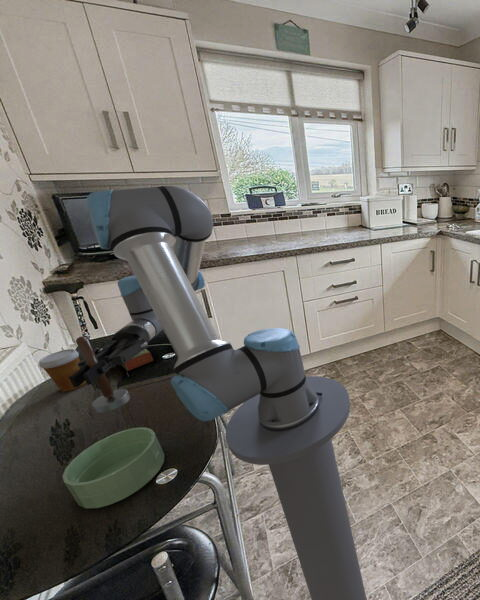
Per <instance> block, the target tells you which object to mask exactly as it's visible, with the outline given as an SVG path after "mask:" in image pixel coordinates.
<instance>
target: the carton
mask: <svg viewBox="0 0 480 600" xmlns="http://www.w3.org/2000/svg"><path fill="white" fill-rule="evenodd" d="M153 361H154V358H153V356H152V353H151V352H150V351H149V350H148V349H147V348H146V349H144V350H142V351H141V352H140V353H138V354H137V355H136V356H134V357H133V358H132V359H130V360H129V361H128V362H126V363H125V364H124V365H121V366H122V367H123V368H124V369H125V370H126V371H127V372H129V371H131V370H134V369H136V368H139V367H142V366H144V365H146V364H149V363H151V362H153Z"/></svg>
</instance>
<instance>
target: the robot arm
mask: <svg viewBox="0 0 480 600" xmlns="http://www.w3.org/2000/svg"><path fill="white" fill-rule="evenodd" d="M86 205H87V209H88V215H89V218H90V222H91V225H92V226H91V227H92V230H93V233H94V236H95V239H96V241H97V244H98V246H99V248H100V249H102V250H107V251H108V250H111V251H112V253H113V255H114V256H115V257H116V258H118V259H120V260H123V261H126V262H127V263H128V265H129V267H130V269H131V271H132V273H133V275H129V276H125V277H122V278H120V279H119V280H117V286H118V289H119V293H120V296H121V297H122V300H123V303H124V304H125V306H126V309H127V311H128V313H129V317H130V318H131V321H129V322H128V323H127V324H125V326H123V327H122V328H120V329H119V330H117V331H116V332H115V333H114V334H113V335H112V337H111V341H110V342H109V343H107V344H105V345H104V347H102V348H100V347H97V346H96V347H92V349H93V351H94V353H95V355H96V357H97V359H98V361H99V362H98V363H97V364H96V365H94V366H93V367H92V368H91V369H89V367H88V365H87V363H86V361H85V359H84V357H83V358H82V359H81V360H80V362H78V363H77V365H78V367H79V368H80V369H79V370H78V371H77V372H75V373H74V374H73V375H71V376H70V377H69V379H70V381H71V383H72V384H73V386H74V388H75V387H78V386H80V385H81V384H82V383H83V382H84V381H86V384H87V385H88V386H90V385H92V384H94V383H95V382H96V380H97V379H98V378H99V377H100V376H102V375H103V374H106V373H107V372H108V371H109V370H111V369H113V368H116V366H122V365H124V364H125V363H126V362H128V361H129V360H130V359H132V358H133V357H134V356H136V355H137V354H138V353H140V352H141V351H142V350H144V349H146V350H147V349H148V348H149V345H148V343H149V342H150V341H152V339H154V338H155V337H157V335H158V334H159V333H161V332H162V331H163V332H164V334H165V336H166V338H167V339H168V342H169V343H170V346H171V347H172V348H173V351H174V353H175V355H176V357H177V359H176V362H175V364H174V366H173V370H174V372H175V375H174V376H173V377H171V379H170V384H171V387H172V388H173V390H174V391H175V394H176V396H177V397H178V399H179V400H180V402H181V403H182V404H183V406H184V407H185V408H186V409H187V410H188V411H189V413H190V414H192V415H193V417H195V418H196V419H197V420H199V421H201V422H210V421H212V420H215V419H216V418H218V417H220V416H222V415H226V414H228V413H229V412H230V411H231V410H234V409H235V408H238V407H240V406H241V405H242V404H243V403H244V402H246V401H248V400H249V399H251V398H253V397H255V396H256V395H258V394H260V400H259V405H258V408H259V411H258V417H259V420H260V423H261V425H262V427H264V428H265V429H267V430H270V431H285V430H290V429H293V428H296V427H298V426H300V425H302V424H304V423H305V422H307V421H308V420H310V419H311V418H312V417H313V416H314V415H315V413H316V412H317V410H318V408H319V400H318V396H322V393H319V392H315V391H314V389H313V388H312V386H311V385H310V383H309V382H308V381H307V379H306V377H307V375H306V372H305V367H304V362H303V358H302V354H301V353H302V352H301V350H300V348H301V347H300V344H299V341H298V339H297V338H298V337H297V336H296V333H294V331H292V330H290V329H288V328H283V327H270V328H264V329H263V328H262V329H259V330H256V331H252V332H251V333H249V334H247V335H246V336H245V337H244V339H243V346H241V347H239V348H237V349H234V347H233V345H232V344H231V342H230V341H226V340H222V339H221V338H220V337H219V335H218V333H217V331H216V330H215V327H214V326H213V324H212V321H211V320H210V318H209V317H208V314H207V313H206V310H205V307H204V306H203V304H202V303H201V300H200V299H199V297H198V295H197V293H196V292H197V291H199V290H202V289H204V287H206V283H205V278H204V276H203V273H202V272H201V270H200V269H201V263H202V259H203V254H204V249H205V244H206V240H208V239H209V238H210V237H211V236H212V234H213V228H214V219H213V215H212V213H211V210H210V208H209V207H208V205H207V204H206V203H205V201H204V200H202V199H201V198H200V197H199V196H198V195H197V194H195V193H194V192H192V191H190V190H188V189H185V188H184V187H179V186H175V185H161V186H147V187H138V188H126V189H124V188H123V189H113V188H110V189H108V190H101V191H92V192H90V193H89V194H88V195H87V197H86ZM80 387H81V386H80ZM78 388H79V387H78ZM317 395H318V396H317Z"/></svg>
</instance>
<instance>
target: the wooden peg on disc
mask: <svg viewBox="0 0 480 600" xmlns="http://www.w3.org/2000/svg"><path fill="white" fill-rule="evenodd" d="M75 343H76V345H77V346H78V349H79V351H80V353H81V354H82V357H83V358H84V359H85V361H86V363H87V365H88V367H89V369H91V368H92V367H93V366H94V365H96V364H97V363H98V362H99V361H98V359H97V357H96V355H95V353H94V351H93V349H92V348H93V347H92V345H91V343H90V341H89V339H88V338H87V337H86V336H78V337H77V338H76V339H75ZM95 382H96V385H97V386H98V388H99V391H100V393H101V394H102V395H100V396H98V397H97V398H95V399H94V400H93V401H92V403H91V406H92V407H93V410H94V411H95V413H97V414H105V413H108V412H112V411H114V410H116V409H119V408H121V407H123V406H124V405H126V404H127V403H128V402H129V401H130V399H131V395H130V394H129V390H128V389H126V388H119V389H114V390H113V388H112V386H111V384H110V382H109V380H108V377H107V376H106V373H104V374H103V375H102V376H100V377H99V378H98V379H97V380H96V381H95Z"/></svg>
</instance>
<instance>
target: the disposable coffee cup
mask: <svg viewBox="0 0 480 600" xmlns="http://www.w3.org/2000/svg"><path fill="white" fill-rule="evenodd" d="M79 354H80V353H79V351H77V349H74V348H68V349H62V350H58V351H55V352H53V353H50V354H48V355H46V356H44V357H42V358H40V359H39V362H38V363H39V364H38V366H39V367H40V368H41V369H43V370H44V372H45V373H46V374H47V375H48V376H49V378H51V380H52V381H53V382H54V383H55V385H56V387H58V388H59V390H60V391H61V392H70V391H73V390H76V389H79V388H80V387H82V386H84V385H85V384H87V382H86V381H84V382H83V383H82V384H81V385H80V386H78V387H75V388H74V386H73V384H72V383H71V381H70V379H69V377H70V376H71V375H73V374H74V373H75V372H77V371H78V370H79V369H80V368H79V367H78V365H77V363H78V362H80V361H81V360H80V357H79Z"/></svg>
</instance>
